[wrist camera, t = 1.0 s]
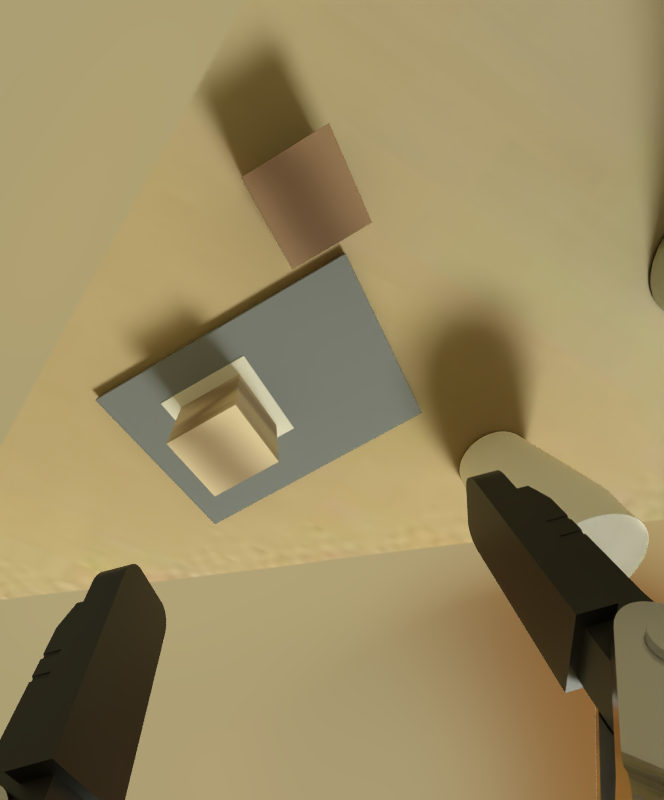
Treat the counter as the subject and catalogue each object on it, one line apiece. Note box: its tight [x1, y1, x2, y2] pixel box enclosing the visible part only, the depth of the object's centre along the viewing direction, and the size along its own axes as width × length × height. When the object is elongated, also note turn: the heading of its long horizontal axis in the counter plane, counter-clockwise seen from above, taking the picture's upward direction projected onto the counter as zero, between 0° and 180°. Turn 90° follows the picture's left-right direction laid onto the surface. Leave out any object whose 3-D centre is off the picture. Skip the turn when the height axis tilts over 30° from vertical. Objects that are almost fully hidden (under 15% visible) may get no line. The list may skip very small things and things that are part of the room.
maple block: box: [167, 374, 279, 496], centre depth 27 cm, size 5×5×5 cm
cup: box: [459, 431, 649, 577], centre depth 31 cm, size 9×9×12 cm
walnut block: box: [241, 123, 372, 269], centre depth 23 cm, size 5×5×5 cm
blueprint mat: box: [96, 253, 422, 524], centre depth 30 cm, size 20×14×1 cm
